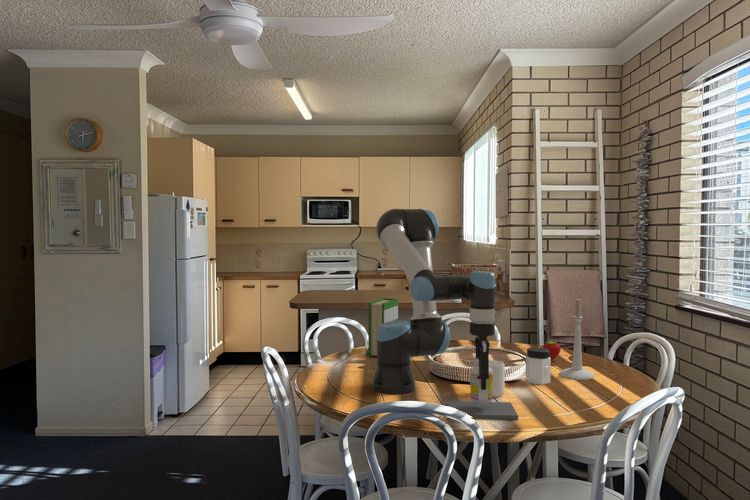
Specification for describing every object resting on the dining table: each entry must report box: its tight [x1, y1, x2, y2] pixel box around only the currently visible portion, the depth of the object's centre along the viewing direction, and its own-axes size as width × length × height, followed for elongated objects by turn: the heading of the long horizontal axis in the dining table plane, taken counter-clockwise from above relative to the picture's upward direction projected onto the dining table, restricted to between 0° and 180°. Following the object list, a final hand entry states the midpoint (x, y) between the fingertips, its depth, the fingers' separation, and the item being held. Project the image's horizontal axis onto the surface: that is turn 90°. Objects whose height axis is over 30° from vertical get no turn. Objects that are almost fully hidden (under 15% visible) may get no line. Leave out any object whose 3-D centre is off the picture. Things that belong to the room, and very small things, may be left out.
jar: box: [525, 346, 552, 385], centre depth 211 cm, size 9×8×12 cm
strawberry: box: [542, 340, 562, 362], centre depth 244 cm, size 6×8×10 cm
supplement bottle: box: [470, 357, 494, 403], centre depth 175 cm, size 7×7×13 cm
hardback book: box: [367, 297, 399, 358], centre depth 257 cm, size 18×7×24 cm, turn 158°
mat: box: [447, 400, 519, 421], centre depth 176 cm, size 20×13×1 cm, turn 86°
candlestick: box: [559, 298, 596, 381], centre depth 219 cm, size 13×13×30 cm
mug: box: [468, 359, 506, 398], centre depth 195 cm, size 9×12×11 cm
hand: (481, 395), depth 175 cm, fingers closed on supplement bottle, 7 cm apart
